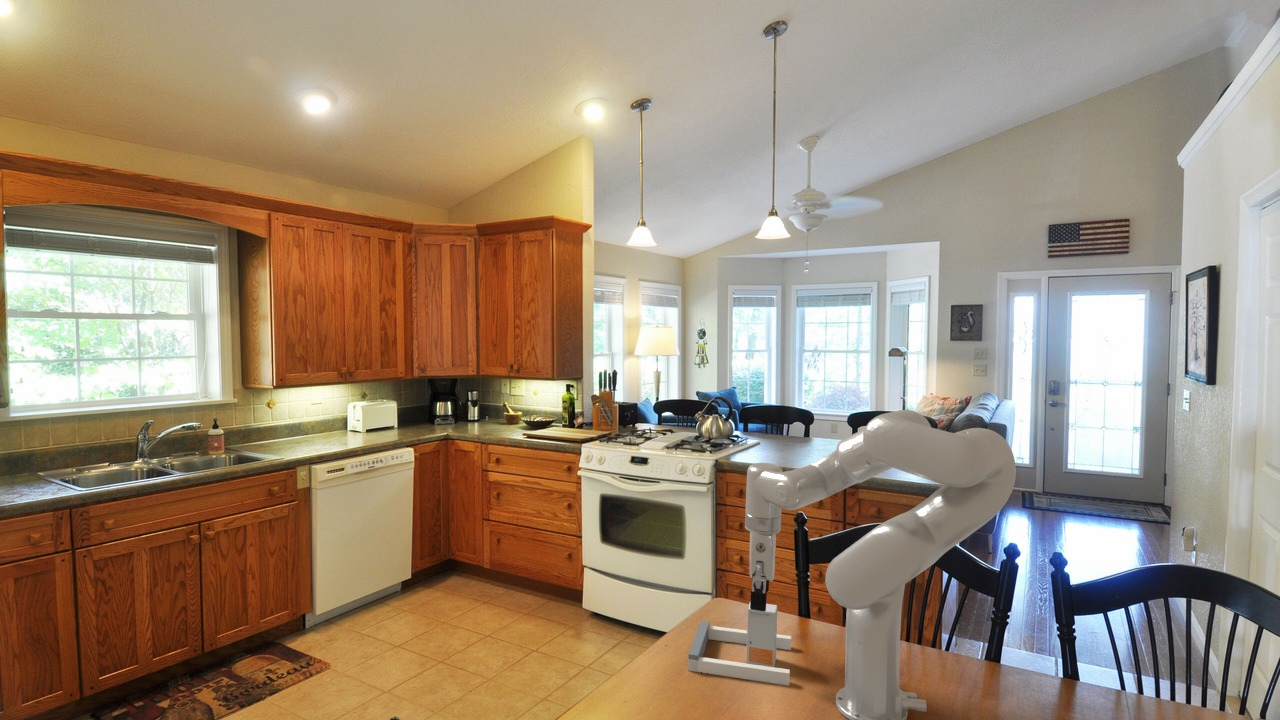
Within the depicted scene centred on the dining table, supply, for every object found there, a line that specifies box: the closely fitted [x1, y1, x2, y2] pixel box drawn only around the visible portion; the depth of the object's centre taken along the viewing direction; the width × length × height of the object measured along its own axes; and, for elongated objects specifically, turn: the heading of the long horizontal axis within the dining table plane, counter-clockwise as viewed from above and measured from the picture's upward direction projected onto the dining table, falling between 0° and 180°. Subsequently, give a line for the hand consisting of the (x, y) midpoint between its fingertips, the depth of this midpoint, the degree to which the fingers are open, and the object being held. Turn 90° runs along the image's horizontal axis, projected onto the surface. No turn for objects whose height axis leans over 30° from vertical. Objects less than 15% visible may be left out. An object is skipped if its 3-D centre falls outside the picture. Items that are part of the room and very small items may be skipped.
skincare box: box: [745, 602, 778, 667], centre depth 133 cm, size 6×4×12 cm
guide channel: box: [687, 620, 792, 686], centre depth 135 cm, size 20×16×4 cm
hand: (759, 599), depth 134 cm, fingers open, 9 cm apart
